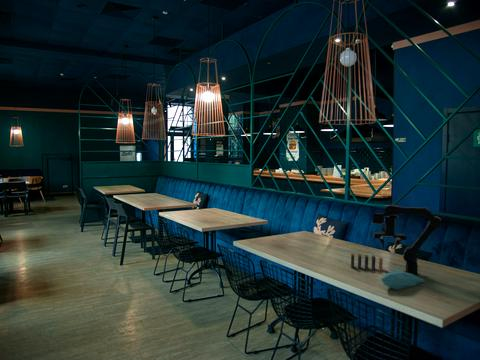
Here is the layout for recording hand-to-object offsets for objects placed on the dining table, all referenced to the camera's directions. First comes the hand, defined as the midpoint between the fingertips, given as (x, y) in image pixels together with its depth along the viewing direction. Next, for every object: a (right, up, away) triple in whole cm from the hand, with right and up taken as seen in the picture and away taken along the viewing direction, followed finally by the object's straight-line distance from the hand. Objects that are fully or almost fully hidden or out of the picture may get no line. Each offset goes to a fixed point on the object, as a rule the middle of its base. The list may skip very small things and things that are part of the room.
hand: (389, 249), depth 226 cm
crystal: (-3, -15, -27) cm, 31 cm away
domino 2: (-9, -13, +3) cm, 16 cm away
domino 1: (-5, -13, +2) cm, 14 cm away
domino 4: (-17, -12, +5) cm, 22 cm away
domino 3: (-13, -13, +4) cm, 18 cm away
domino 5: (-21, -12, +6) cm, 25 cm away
